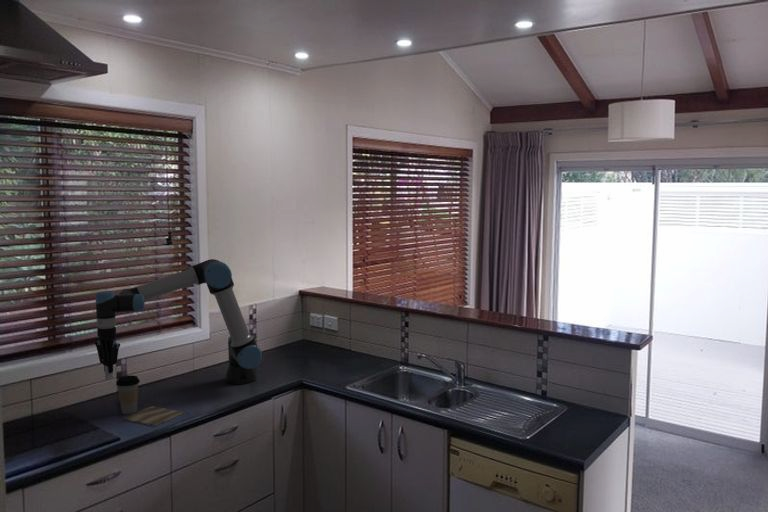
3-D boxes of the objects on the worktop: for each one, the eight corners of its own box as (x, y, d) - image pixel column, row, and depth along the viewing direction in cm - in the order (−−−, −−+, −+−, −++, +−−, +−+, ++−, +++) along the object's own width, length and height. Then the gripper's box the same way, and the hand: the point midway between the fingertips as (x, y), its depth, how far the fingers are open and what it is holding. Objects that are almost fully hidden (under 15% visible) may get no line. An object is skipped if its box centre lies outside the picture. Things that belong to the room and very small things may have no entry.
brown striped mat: (183, 413, 270) (183, 412, 269) (156, 426, 255) (156, 425, 255) (152, 407, 277) (151, 406, 277) (123, 419, 262) (123, 418, 262)
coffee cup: (113, 415, 268) (111, 381, 266) (125, 407, 277) (124, 374, 275) (133, 416, 266) (131, 382, 265) (145, 408, 276) (143, 375, 274)
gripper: (88, 327, 271) (91, 380, 274) (110, 330, 266) (113, 384, 269) (102, 323, 278) (105, 375, 281) (124, 326, 273) (126, 379, 275)
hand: (109, 379), depth 275 cm, fingers closed
